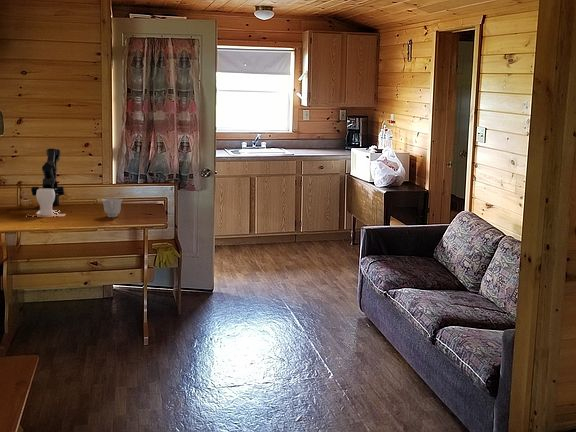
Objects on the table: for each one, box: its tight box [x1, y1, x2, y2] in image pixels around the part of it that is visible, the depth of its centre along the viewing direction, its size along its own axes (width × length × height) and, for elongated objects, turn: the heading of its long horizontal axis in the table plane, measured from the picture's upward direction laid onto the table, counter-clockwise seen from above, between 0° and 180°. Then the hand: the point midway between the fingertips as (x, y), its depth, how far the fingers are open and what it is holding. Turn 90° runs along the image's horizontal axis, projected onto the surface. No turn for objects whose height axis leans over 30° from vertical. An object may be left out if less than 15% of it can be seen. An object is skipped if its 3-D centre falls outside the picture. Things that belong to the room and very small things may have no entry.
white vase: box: [35, 188, 55, 215], centre depth 422 cm, size 11×11×15 cm
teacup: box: [101, 197, 123, 218], centre depth 419 cm, size 12×15×10 cm
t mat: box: [25, 209, 67, 218], centre depth 427 cm, size 21×22×1 cm
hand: (47, 201), depth 426 cm, fingers closed
